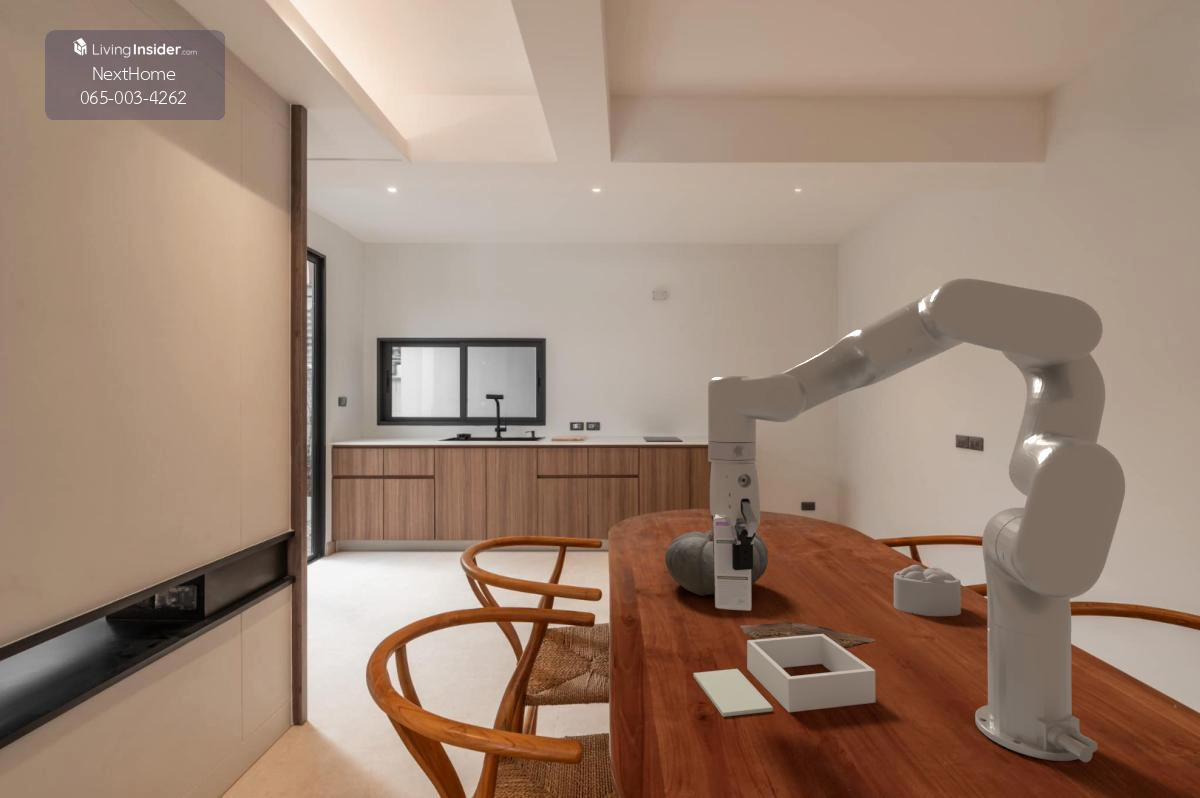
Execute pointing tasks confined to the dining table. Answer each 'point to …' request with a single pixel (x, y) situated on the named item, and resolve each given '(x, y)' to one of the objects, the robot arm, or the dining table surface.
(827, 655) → the square frame
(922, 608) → the lumpy-topped squat cylinder
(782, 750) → the dining table surface
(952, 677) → the dining table surface
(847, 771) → the dining table surface
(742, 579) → the syrup box
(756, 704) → the mat
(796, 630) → the wooden fragment
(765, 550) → the gourd
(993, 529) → the robot arm
